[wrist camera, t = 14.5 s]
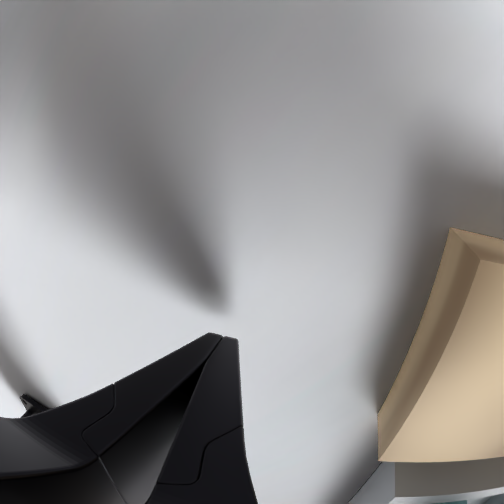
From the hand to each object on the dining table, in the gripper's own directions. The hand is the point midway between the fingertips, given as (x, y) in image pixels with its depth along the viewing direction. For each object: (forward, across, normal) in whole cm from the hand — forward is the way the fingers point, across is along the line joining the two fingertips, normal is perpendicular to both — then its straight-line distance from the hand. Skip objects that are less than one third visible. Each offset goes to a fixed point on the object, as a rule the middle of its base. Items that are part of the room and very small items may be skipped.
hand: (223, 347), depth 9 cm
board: (+1, -10, -1) cm, 11 cm away
